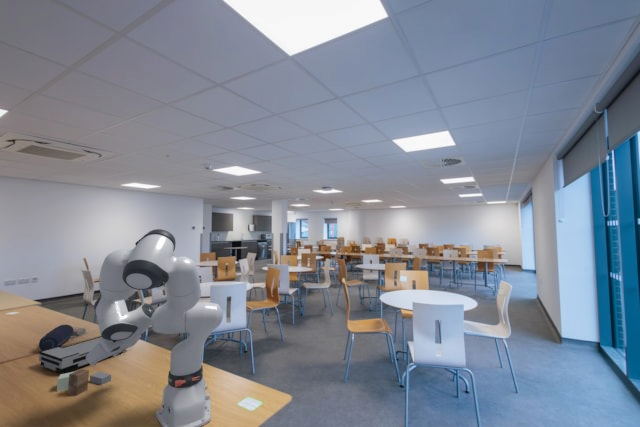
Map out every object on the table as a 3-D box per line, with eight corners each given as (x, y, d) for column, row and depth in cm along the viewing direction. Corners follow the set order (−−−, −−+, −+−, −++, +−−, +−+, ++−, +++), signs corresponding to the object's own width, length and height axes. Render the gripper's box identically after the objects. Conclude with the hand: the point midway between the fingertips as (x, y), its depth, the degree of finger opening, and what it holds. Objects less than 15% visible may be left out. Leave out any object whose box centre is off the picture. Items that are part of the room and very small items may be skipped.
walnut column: (87, 389, 120) (88, 370, 120) (76, 395, 115) (77, 375, 116) (79, 388, 120) (80, 369, 121) (67, 394, 116) (69, 374, 117)
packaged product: (89, 326, 190) (74, 331, 180) (88, 333, 189) (74, 339, 179) (65, 325, 192) (49, 330, 182) (64, 332, 191) (49, 338, 181)
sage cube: (72, 388, 121) (73, 376, 121) (56, 391, 118) (57, 379, 119) (74, 383, 125) (75, 371, 126) (59, 386, 122) (60, 374, 123)
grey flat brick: (110, 381, 127) (111, 374, 127) (101, 385, 123) (101, 378, 124) (99, 378, 130) (99, 371, 130) (89, 382, 126) (90, 375, 126)
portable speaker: (54, 340, 176) (55, 323, 177) (74, 337, 181) (75, 322, 181) (34, 355, 154) (36, 336, 155) (58, 352, 158) (60, 334, 159)
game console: (130, 351, 160) (131, 336, 161) (60, 377, 131) (62, 358, 131) (108, 345, 168) (109, 331, 169) (38, 368, 139) (39, 351, 140)
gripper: (141, 323, 126) (121, 344, 127) (97, 339, 106) (74, 364, 107) (149, 334, 125) (129, 355, 126) (106, 352, 105) (82, 377, 106)
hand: (103, 359), depth 116 cm, fingers open, 8 cm apart
